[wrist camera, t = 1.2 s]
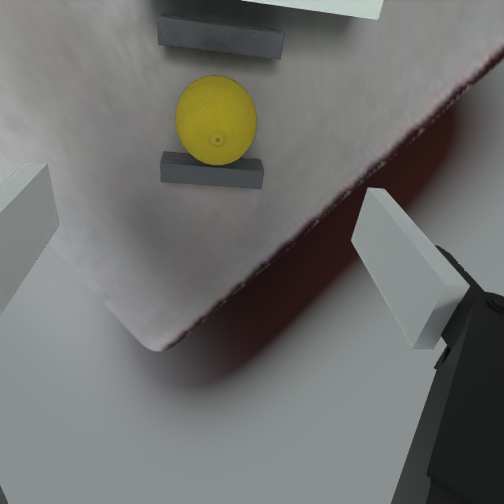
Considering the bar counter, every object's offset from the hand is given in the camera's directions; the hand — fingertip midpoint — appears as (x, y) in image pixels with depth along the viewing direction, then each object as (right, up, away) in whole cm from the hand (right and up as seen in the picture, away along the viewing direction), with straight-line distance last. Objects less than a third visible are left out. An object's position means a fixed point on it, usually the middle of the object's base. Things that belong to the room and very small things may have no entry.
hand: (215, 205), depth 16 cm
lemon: (-1, +9, +13) cm, 16 cm away
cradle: (-1, +9, +13) cm, 16 cm away
